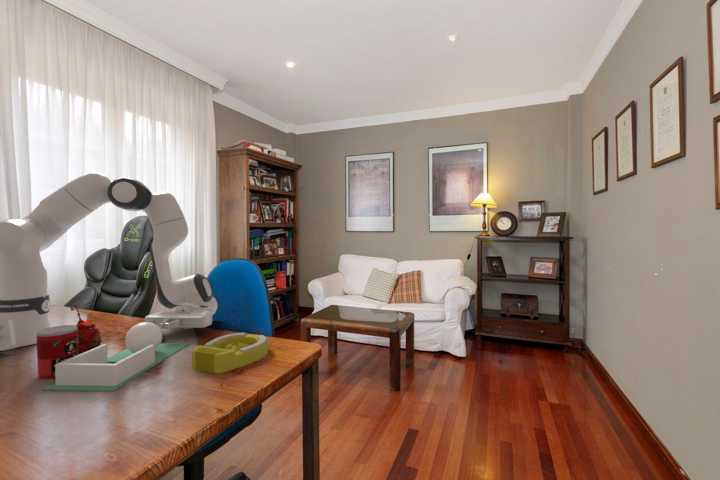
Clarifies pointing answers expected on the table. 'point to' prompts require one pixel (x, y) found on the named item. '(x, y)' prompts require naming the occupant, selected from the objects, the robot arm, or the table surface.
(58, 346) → the canned food
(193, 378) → the table surface
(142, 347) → the ball
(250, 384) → the table surface
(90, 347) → the red clay folk toy
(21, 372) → the table surface
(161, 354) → the green mat
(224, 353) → the olive green tray
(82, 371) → the white chevron barrier
